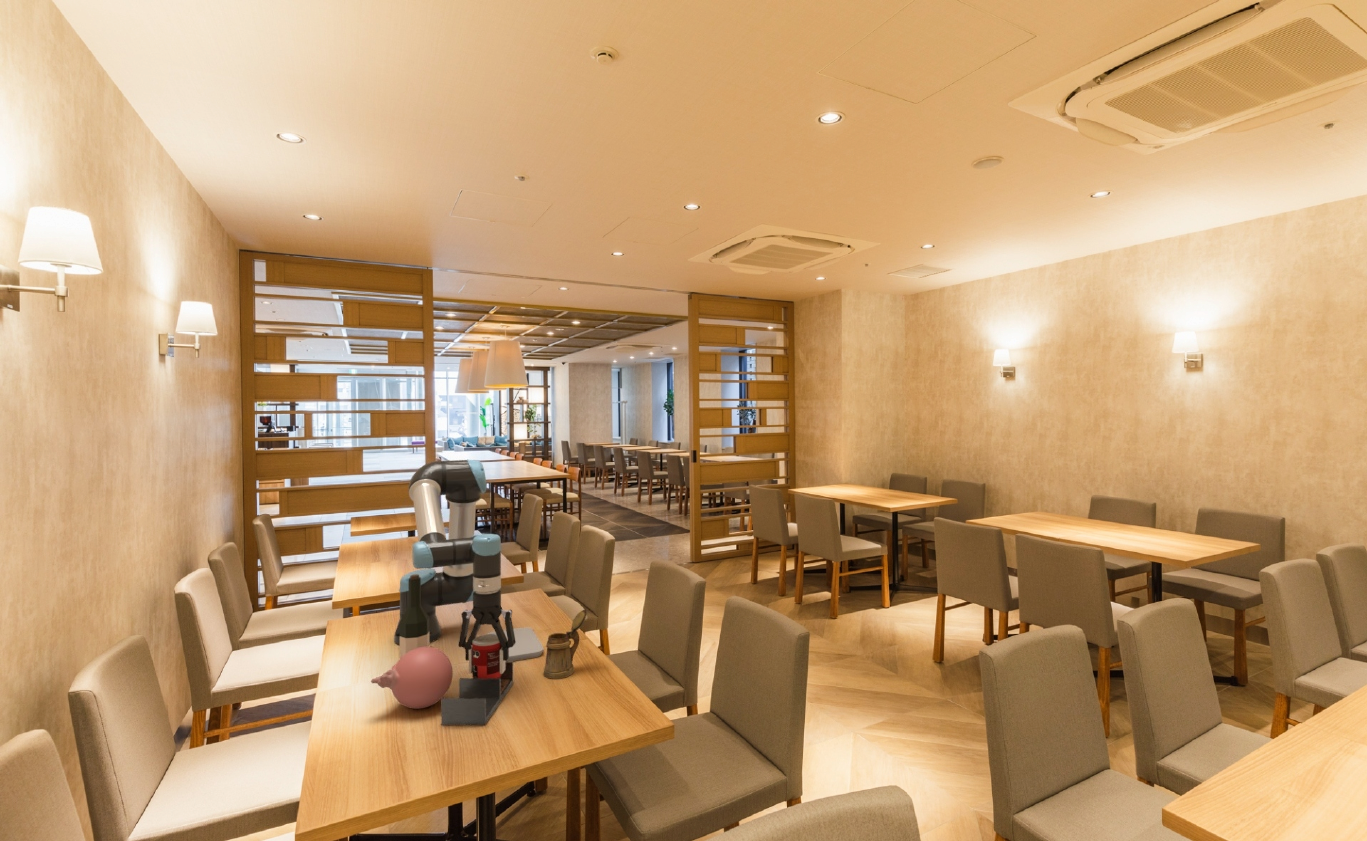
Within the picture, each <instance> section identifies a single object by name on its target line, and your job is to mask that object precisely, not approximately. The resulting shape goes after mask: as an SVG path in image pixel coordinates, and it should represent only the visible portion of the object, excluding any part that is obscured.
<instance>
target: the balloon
mask: <svg viewBox="0 0 1367 841" xmlns="http://www.w3.org/2000/svg"><path fill="white" fill-rule="evenodd" d="M453 676H454V670H453V665H452V662H451V660H450V658H449V656H447V654H446V653H445V652H444V651H442V650H441V649H440V648H437V647H432V646H429V647H419V648H415V649H413V650H411V651H409V652H407V653H406V654H405V655H403V656H402V657H401V658H400V657H399V659H398V660H397V662H396V663H395V664H393V666H392V667H391V669H389V670H387V671H386V672H384V673H383V674H382V675H380V676H376V677H375V678H372V679H371V680H370V682H371V684H377V686H378V687H380V688H382V689H384V688H388V689H390V690H391V692H392V695H393V696H394V698H395V700H396V701H397V702H398V703H400V704H401V706H402V705H403V706H404V707H406V708H409V709H425V708H429V707H431V706H433V705H435V704H436V703H437V702H439V701H440V700H441V699H442V698H444V696H445V695H446V693H448V691H449V689H450V687H451V684H452V681H453Z"/></svg>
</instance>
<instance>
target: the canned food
mask: <svg viewBox="0 0 1367 841" xmlns="http://www.w3.org/2000/svg"><path fill="white" fill-rule="evenodd" d="M485 634H486V635H485ZM485 634H482V635H478V636H476V637H475V638H474V639H473V641H472V646H471V647H472V673H471V674H472V676H471V677H472V678H500V677H501V675H502V674H500V649H501V648H502V646H501V644H500V641H499V639H498V637H497V635H495V634H487V633H485Z"/></svg>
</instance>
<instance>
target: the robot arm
mask: <svg viewBox="0 0 1367 841" xmlns="http://www.w3.org/2000/svg"><path fill="white" fill-rule="evenodd" d="M484 468H485V467H484V465H483V463H482V462H481V461H480V460H477V459H459V460H454V459H453V460H433V461H430V462H428V463H426V464H424V465H422V466H421V467H419V468H418V469H417V470H416V471H415V473H413V475H412V477H411V478H410V480H409V484H408V496H409V498H410V500H411V501H412V503H413V509H414V516H415V525H416V526H415V527H416V533H417V542H413V544H412V549H411V550H412V552H411V554H412V566H413V568H415V569H417V570H413V571H410V572H408V573H405V574H404V575H403V576H402V577H401V578H400V580H399V590H398V591H399V620H398V622H397V626H396V628H395V631H394V636H393V638H394V639H393V640H394V643H395V644H396V645H398V646H400V621H401V619H402V617H403V616H404V614H405V612H406V610H407V609H408V607H409V578H410V576H411V575H415V574H418V575H419V577H421V606H422V607H423V609H424V610H425V612H426V613H427V614H428V616H429V643H432V642H434V641H436V640H439V639H440V638H441V636H442V629H441V628H442V627H441V625H440V623H439V620H438V617H437V613H436V612H437V610H436V607H440V606H441V607H442V606H449V605H455V604H456V605H457V604H466V603H469V602H472V609H465V610H463V611H462V613H461V618H462V619H461V621H462V623H461V628H460V632H459V639H458V648H463V649H465V657H464V658H465V661H467V662H468V674H470V675H471V674H472V641H473V639H474V638H475V637H477V635H478V632H479V630H480V628H481V626H484V625H487V626H488V625H489V626H490V625H491V627H492V629H494V631H495V632H496V635H497V637H498V639H499V641H500V644H501V646H502V648H501V649H500V674H503V672H504V671H505V661H507V659H508V658H509V648H510V647H513V646H514V644H515V643H516V641H515V636H514V630H513V629H514V625H513V618H512V616H513V610H512V609H508V610H506V609H503V607H502V590H501V588H502V564H501V562H502V557H501V556H502V543H501V537H500V535H499V534H495V533H484V534H483V533H482V534H475V528H476V527H475V525H476V508H477V507H476V506H477V505H476V504H477V502H479V501H480V500H481V499H482V498H481V496H482V494H484V493H486V492H487V478H486V473H485V469H484ZM440 496H444V498H445V500H446V501H447V502H448V503H449V516H448V517H449V518H448V538H447V536H446V530H445V529H446V528H445V524H444V519H443V514H442V508H441V503H440V502H441V501H440ZM435 568H442V572H441V571H439V572H437V571H436V569H435ZM472 616H473V617H474V619H475V622H474V624H473V626H472V629H471V632H470V634H469V637H468V638H467V636H468V632H469V625H470V619H471V617H472ZM501 616H502V619H503V620H504V626H505V630H506V632H507V638H508V640H507V638H506V635H505V633H504V631H503V630H504V628H503V626H502V624H501V620H500V617H501Z"/></svg>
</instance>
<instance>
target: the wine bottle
mask: <svg viewBox="0 0 1367 841" xmlns="http://www.w3.org/2000/svg"><path fill="white" fill-rule="evenodd" d="M419 647H430V642H429V616H428V614H427V613H426V612H425V610H424V609H423V607H422V606H421V577H419V575H418V574H415V575H411V576H410V578H409V607H408V609H407V610H406V612H405V614H404V616H403V617H402V619H401V621H400V645H399V659H400V658H401V657H402V656H403V655H405V654H406V653H407V652H409V651H411V650H413V649H415V648H419Z"/></svg>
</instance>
